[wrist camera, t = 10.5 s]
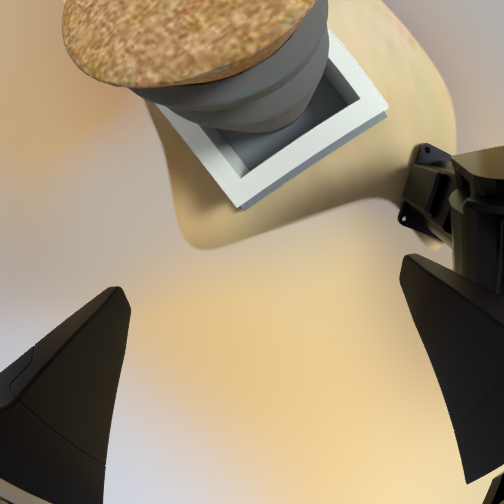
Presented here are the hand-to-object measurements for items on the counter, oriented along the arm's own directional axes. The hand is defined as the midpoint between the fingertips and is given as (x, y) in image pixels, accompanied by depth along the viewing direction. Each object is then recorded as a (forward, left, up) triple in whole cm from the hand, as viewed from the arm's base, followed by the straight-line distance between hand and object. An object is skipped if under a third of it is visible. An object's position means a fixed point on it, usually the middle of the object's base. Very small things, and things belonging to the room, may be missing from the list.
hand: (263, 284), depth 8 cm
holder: (+3, -7, -13) cm, 15 cm away
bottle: (+3, -7, -12) cm, 14 cm away
